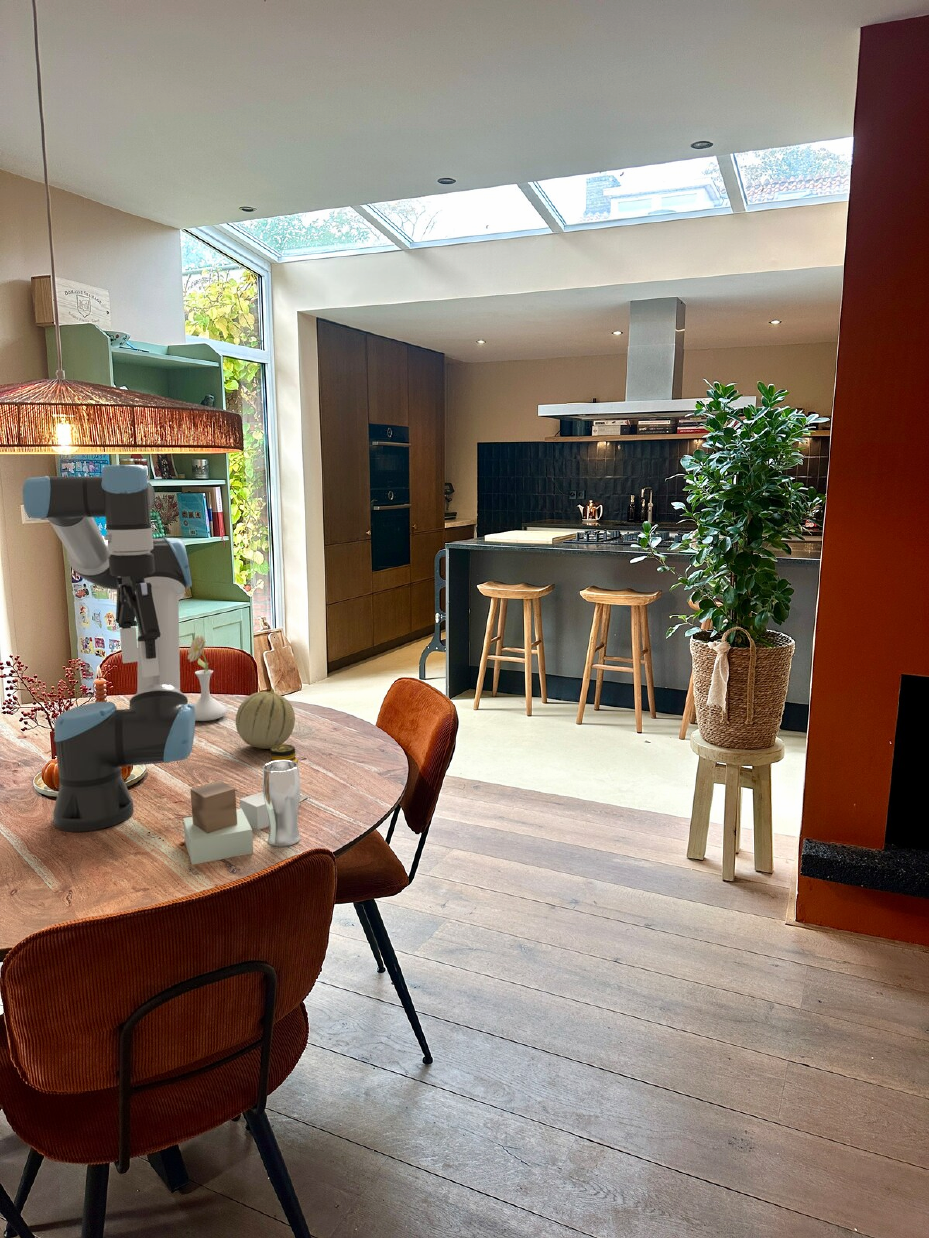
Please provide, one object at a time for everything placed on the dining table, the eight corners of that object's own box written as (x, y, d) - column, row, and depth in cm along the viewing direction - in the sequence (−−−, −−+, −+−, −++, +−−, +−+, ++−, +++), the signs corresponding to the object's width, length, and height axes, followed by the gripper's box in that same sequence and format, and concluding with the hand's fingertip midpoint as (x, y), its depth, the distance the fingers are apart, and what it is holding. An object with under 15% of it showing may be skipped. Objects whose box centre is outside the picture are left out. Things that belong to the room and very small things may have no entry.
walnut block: (192, 823, 159) (190, 788, 158) (222, 814, 163) (219, 780, 162) (207, 833, 155) (204, 797, 153) (237, 823, 158) (234, 788, 157)
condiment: (286, 809, 177) (283, 755, 175) (256, 802, 181) (253, 748, 179) (309, 797, 183) (306, 744, 181) (279, 790, 187) (276, 739, 185)
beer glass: (305, 831, 166) (301, 759, 163) (299, 847, 159) (295, 771, 156) (269, 832, 165) (265, 759, 163) (262, 848, 159) (258, 772, 156)
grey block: (240, 822, 171) (239, 799, 170) (265, 813, 175) (264, 790, 174) (258, 830, 167) (256, 806, 166) (283, 821, 171) (281, 797, 170)
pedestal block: (184, 842, 162) (183, 818, 161) (242, 832, 167) (241, 808, 166) (192, 866, 153) (190, 840, 152) (253, 854, 157) (252, 829, 156)
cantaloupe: (226, 754, 211) (222, 696, 208) (254, 736, 225) (251, 682, 222) (280, 758, 208) (277, 700, 205) (305, 740, 222) (303, 685, 219)
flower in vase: (186, 714, 246) (180, 630, 241) (226, 711, 249) (221, 628, 245) (185, 727, 233) (179, 639, 229) (228, 723, 237) (223, 636, 232)
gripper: (92, 549, 158) (102, 659, 161) (127, 559, 138) (137, 685, 141) (134, 546, 162) (142, 654, 166) (173, 556, 142) (182, 678, 146)
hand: (140, 668), depth 154 cm, fingers open, 13 cm apart
